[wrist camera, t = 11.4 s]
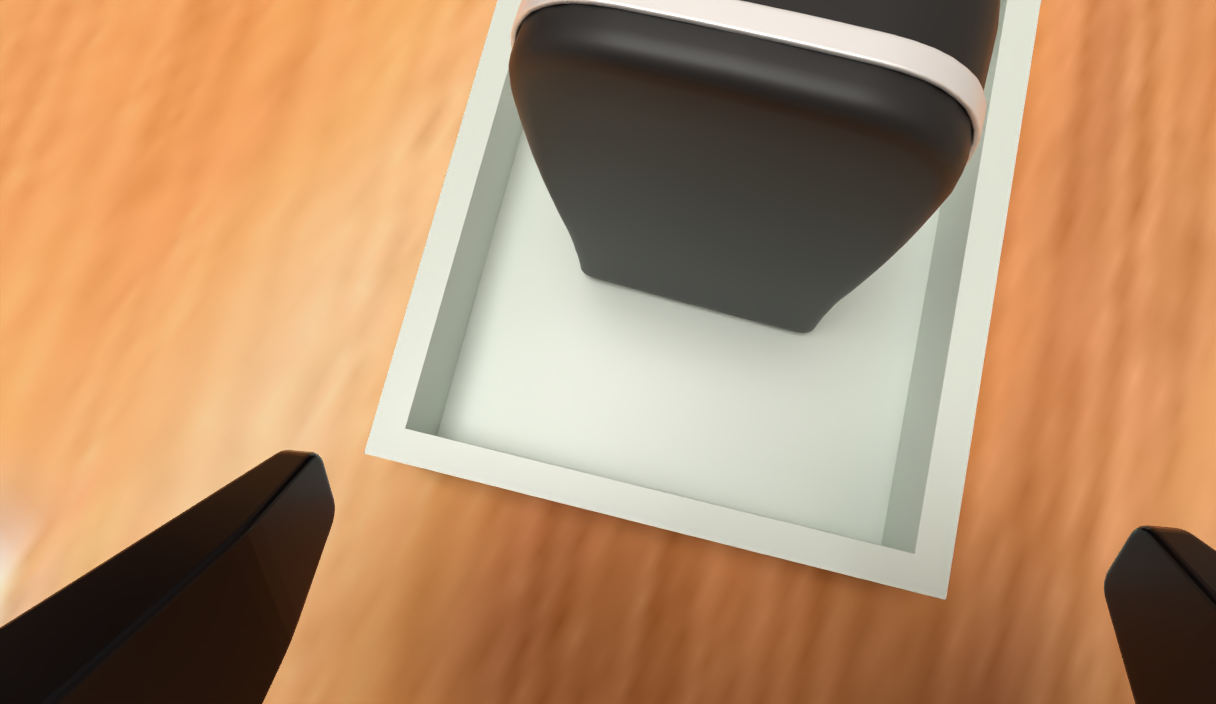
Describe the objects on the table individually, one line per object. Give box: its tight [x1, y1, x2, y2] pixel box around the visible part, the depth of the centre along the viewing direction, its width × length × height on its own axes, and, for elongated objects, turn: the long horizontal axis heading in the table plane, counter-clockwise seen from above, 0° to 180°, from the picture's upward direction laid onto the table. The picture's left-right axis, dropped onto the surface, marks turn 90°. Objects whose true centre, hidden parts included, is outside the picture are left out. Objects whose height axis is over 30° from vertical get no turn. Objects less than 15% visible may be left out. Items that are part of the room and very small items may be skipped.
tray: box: [364, 0, 1041, 600], centre depth 20 cm, size 16×14×4 cm
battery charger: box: [508, 0, 1000, 333], centre depth 15 cm, size 7×4×11 cm, turn 74°
